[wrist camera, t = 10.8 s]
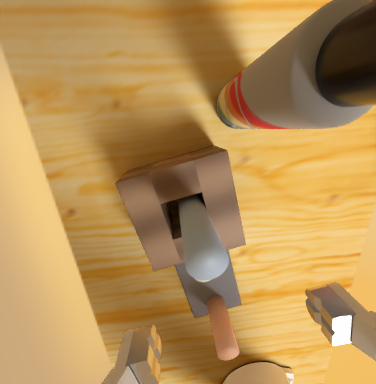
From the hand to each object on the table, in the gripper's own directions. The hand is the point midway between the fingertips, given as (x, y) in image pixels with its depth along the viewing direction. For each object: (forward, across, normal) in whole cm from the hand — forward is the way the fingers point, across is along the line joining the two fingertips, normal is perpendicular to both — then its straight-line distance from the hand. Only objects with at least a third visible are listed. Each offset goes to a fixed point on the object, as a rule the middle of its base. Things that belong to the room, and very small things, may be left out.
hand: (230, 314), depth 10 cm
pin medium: (+18, +1, +21) cm, 27 cm away
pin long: (+18, +1, 0) cm, 18 cm away
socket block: (+18, +2, 0) cm, 18 cm away
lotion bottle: (+18, -8, -11) cm, 22 cm away
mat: (+18, +2, +15) cm, 23 cm away
